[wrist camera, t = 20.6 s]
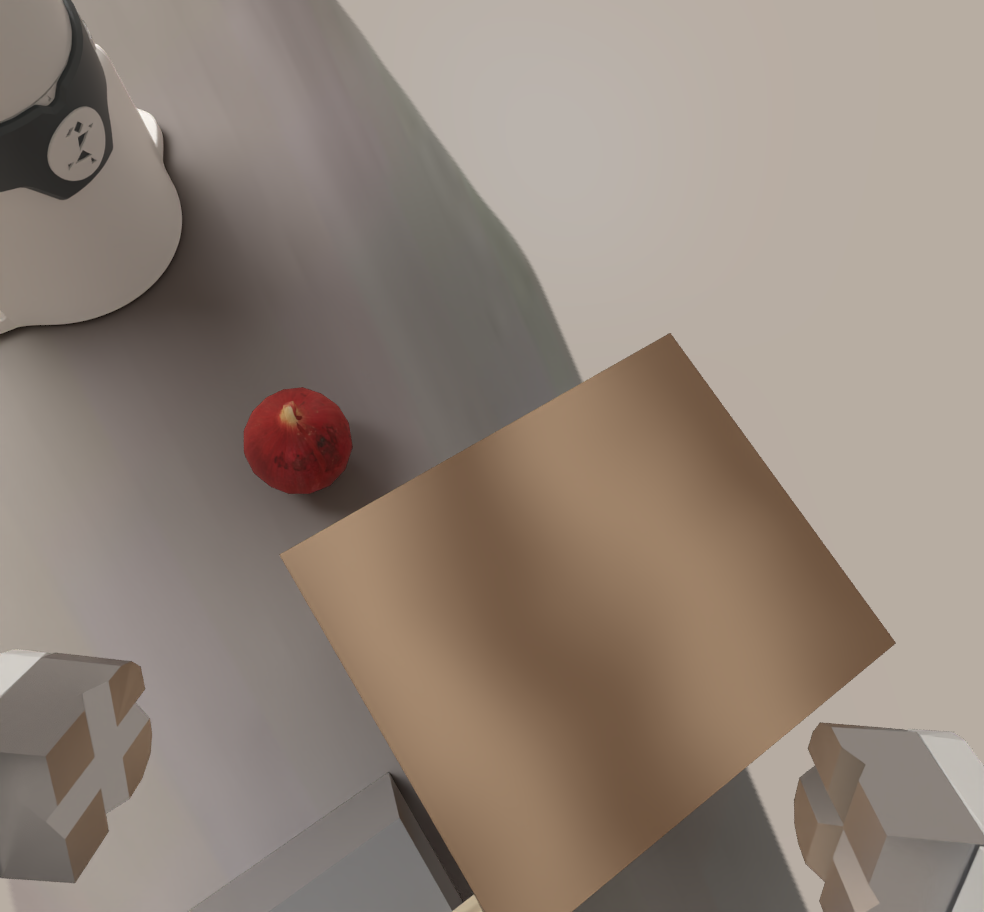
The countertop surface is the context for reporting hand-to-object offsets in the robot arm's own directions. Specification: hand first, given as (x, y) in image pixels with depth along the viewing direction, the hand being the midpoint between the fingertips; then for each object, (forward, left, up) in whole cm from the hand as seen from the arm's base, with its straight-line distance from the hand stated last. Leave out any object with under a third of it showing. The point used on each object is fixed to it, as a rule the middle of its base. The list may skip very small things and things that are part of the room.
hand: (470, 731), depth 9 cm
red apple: (-11, +10, -34) cm, 37 cm away
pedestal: (+3, +4, -34) cm, 34 cm away
